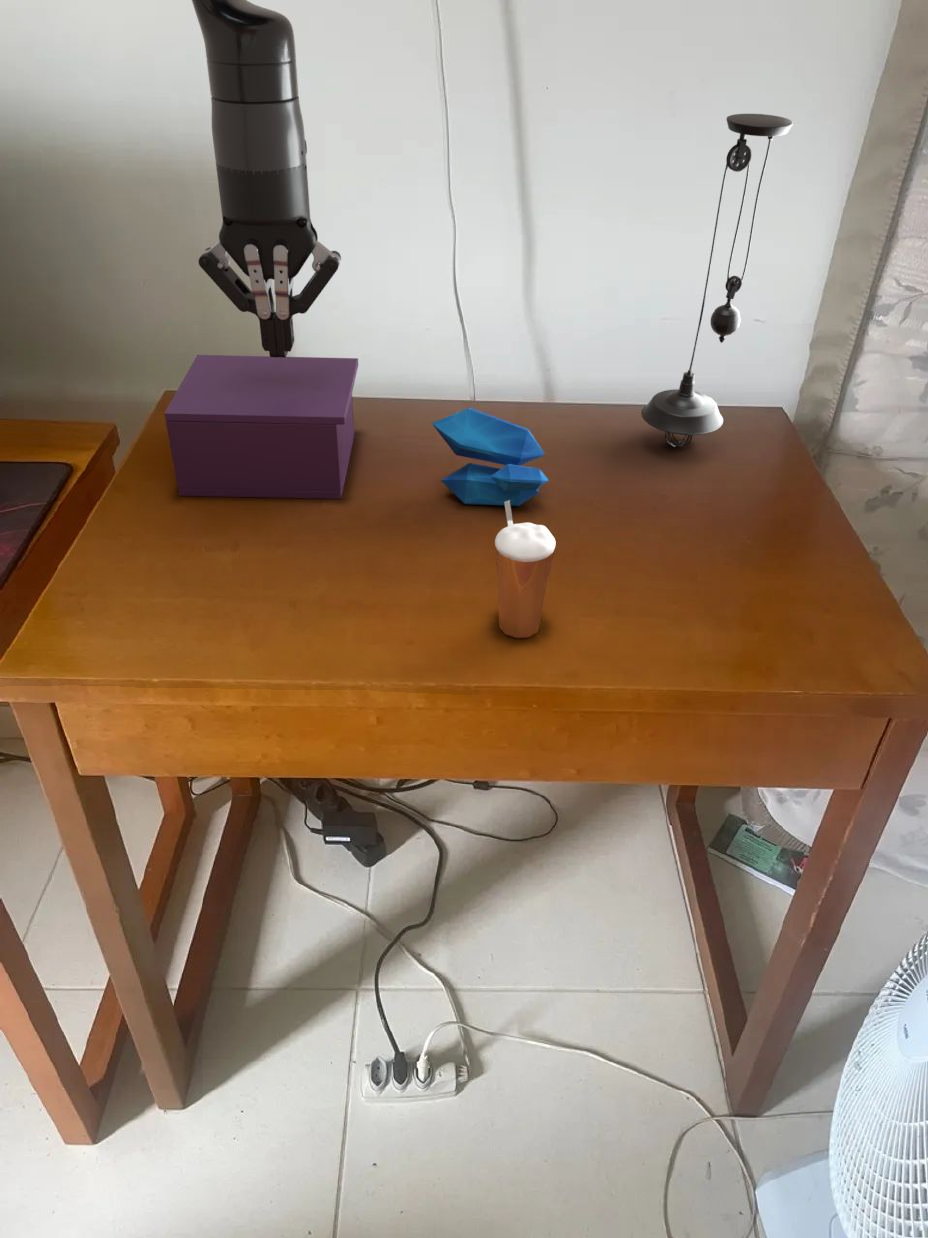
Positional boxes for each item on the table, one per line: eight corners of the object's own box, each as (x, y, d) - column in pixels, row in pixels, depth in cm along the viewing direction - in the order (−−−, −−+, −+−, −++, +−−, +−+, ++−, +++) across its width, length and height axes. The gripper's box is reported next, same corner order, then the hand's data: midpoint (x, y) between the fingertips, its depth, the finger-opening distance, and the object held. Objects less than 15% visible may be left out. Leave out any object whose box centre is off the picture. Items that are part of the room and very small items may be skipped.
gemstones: (561, 456, 88) (431, 420, 87) (533, 535, 93) (410, 501, 92) (562, 419, 94) (441, 385, 93) (536, 495, 99) (421, 464, 98)
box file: (354, 434, 105) (350, 365, 101) (341, 499, 94) (336, 424, 90) (208, 431, 105) (198, 362, 100) (178, 495, 94) (165, 421, 90)
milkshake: (525, 598, 82) (532, 494, 76) (558, 634, 78) (568, 528, 72) (476, 612, 80) (480, 507, 74) (507, 650, 77) (514, 542, 71)
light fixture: (706, 422, 109) (764, 109, 90) (743, 457, 103) (814, 128, 84) (624, 431, 107) (666, 112, 88) (657, 468, 101) (710, 132, 82)
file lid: (358, 365, 101) (358, 357, 100) (345, 425, 90) (344, 416, 89) (198, 361, 100) (197, 354, 100) (165, 421, 90) (163, 412, 89)
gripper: (170, 164, 79) (200, 368, 90) (334, 168, 79) (345, 372, 90) (191, 144, 85) (217, 337, 96) (344, 148, 85) (353, 341, 96)
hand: (279, 354), depth 93 cm, fingers closed
